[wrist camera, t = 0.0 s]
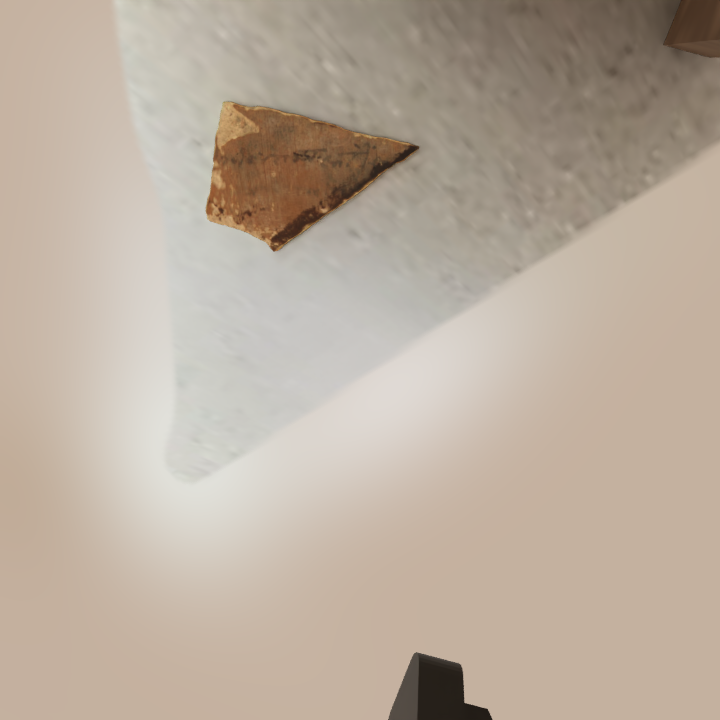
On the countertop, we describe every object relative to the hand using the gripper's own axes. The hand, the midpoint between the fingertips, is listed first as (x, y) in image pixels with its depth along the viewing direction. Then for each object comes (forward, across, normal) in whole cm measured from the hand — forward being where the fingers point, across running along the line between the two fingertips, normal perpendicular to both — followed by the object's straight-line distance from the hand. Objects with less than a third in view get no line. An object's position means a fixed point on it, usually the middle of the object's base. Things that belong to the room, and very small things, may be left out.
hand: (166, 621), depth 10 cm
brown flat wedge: (+30, +5, -3) cm, 30 cm away
